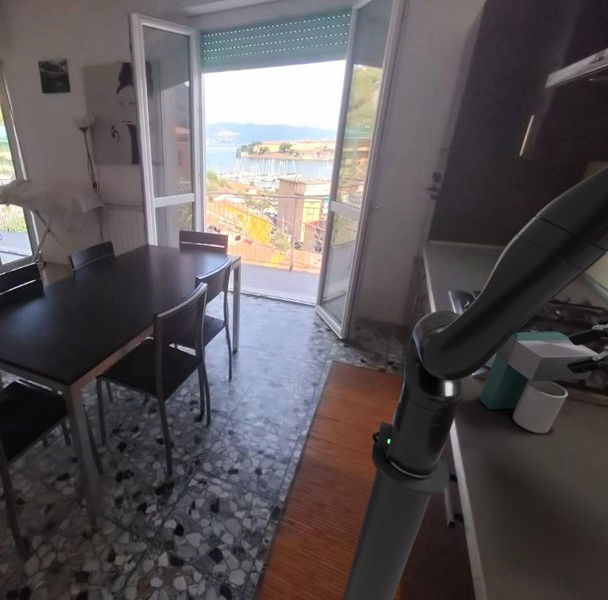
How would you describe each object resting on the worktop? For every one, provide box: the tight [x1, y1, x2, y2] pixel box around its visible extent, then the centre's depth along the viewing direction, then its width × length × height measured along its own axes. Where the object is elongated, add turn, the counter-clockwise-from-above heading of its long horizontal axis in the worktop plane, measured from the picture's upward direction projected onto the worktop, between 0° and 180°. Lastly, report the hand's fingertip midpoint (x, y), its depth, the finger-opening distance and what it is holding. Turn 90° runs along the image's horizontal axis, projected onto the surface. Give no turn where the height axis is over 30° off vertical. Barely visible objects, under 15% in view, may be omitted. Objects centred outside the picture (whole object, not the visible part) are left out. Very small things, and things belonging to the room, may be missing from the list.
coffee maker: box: [478, 330, 599, 410], centre depth 79 cm, size 10×12×19 cm
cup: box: [512, 380, 569, 434], centre depth 78 cm, size 6×6×10 cm
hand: (570, 354), depth 66 cm, fingers open, 8 cm apart
